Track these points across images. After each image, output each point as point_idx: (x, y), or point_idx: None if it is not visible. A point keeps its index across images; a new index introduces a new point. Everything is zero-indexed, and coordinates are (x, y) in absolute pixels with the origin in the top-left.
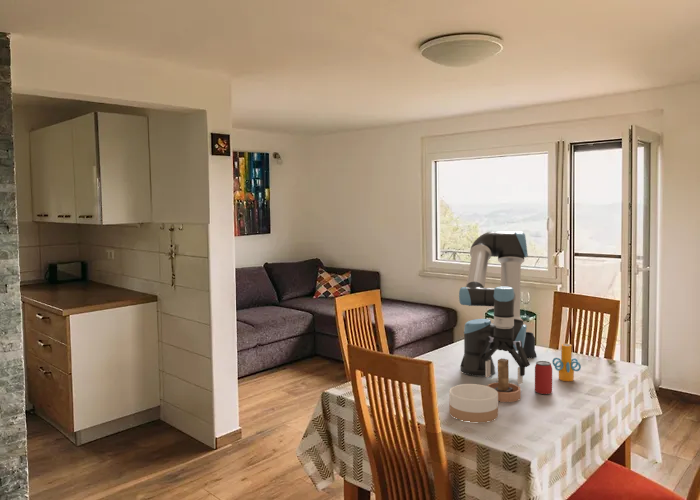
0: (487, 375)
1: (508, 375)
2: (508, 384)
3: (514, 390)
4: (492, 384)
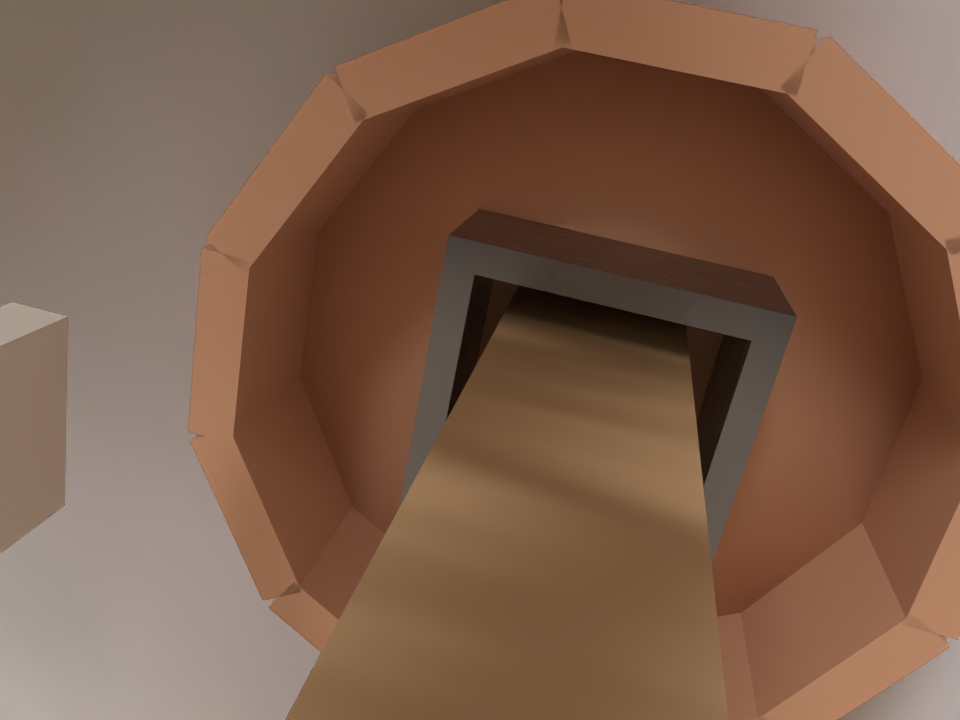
0: (24, 520)
1: (711, 587)
2: (692, 424)
3: (793, 116)
4: (255, 277)
